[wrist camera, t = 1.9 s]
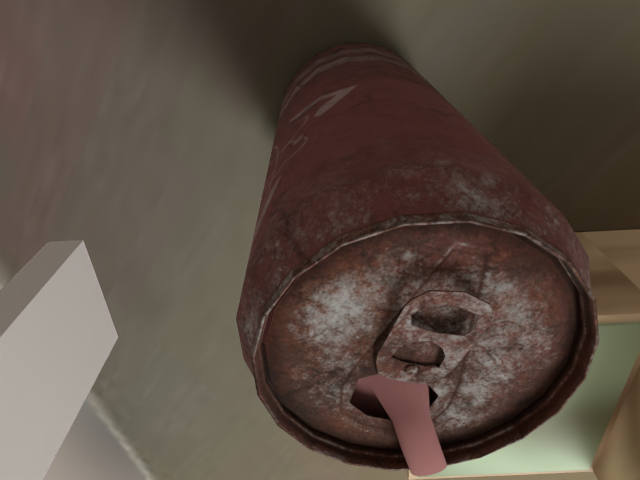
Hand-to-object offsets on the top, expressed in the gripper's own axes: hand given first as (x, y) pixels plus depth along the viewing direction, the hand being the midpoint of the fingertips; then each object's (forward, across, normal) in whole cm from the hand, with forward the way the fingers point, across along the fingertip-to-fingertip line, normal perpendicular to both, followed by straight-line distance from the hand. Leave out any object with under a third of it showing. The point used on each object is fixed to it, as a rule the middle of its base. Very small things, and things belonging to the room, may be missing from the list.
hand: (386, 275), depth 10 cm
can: (+11, 0, 0) cm, 11 cm away
